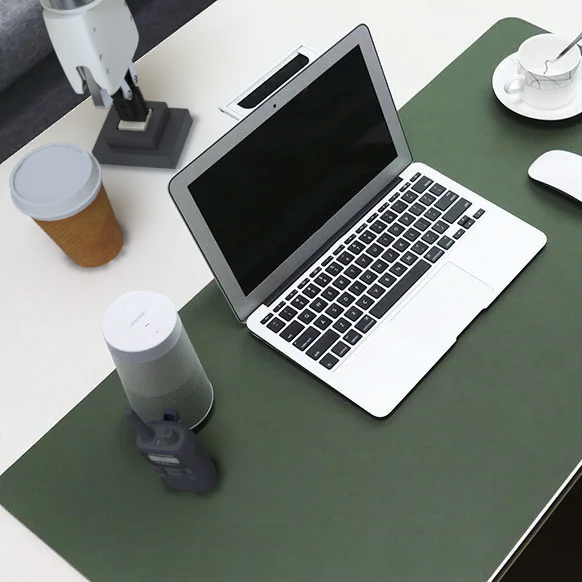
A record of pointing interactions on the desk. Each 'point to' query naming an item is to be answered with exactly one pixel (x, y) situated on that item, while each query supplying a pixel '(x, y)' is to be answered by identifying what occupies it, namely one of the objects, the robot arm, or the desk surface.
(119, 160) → the key block
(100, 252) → the disposable coffee cup
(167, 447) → the two-way radio
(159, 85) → the desk surface
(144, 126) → the key
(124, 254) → the desk surface
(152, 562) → the desk surface
